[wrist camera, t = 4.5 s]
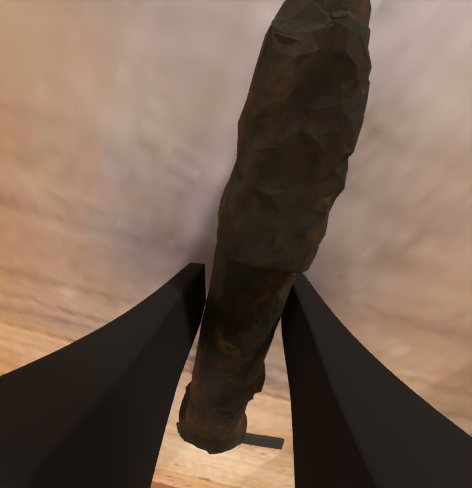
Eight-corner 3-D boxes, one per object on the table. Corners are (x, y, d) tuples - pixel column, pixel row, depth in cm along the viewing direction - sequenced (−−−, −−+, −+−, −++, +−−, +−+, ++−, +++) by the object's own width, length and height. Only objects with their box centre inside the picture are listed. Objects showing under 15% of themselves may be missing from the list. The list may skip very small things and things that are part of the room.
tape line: (283, 439, 19) (283, 441, 18) (281, 447, 19) (281, 449, 19) (177, 422, 19) (176, 424, 19) (178, 430, 20) (178, 433, 20)
